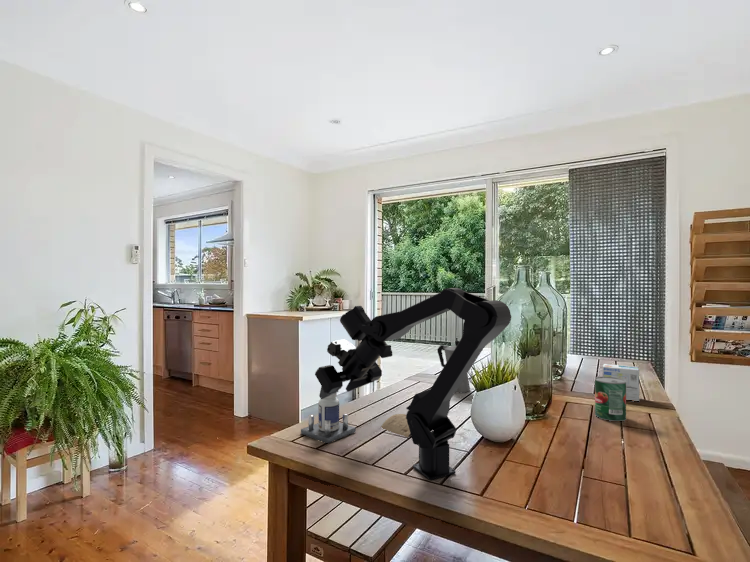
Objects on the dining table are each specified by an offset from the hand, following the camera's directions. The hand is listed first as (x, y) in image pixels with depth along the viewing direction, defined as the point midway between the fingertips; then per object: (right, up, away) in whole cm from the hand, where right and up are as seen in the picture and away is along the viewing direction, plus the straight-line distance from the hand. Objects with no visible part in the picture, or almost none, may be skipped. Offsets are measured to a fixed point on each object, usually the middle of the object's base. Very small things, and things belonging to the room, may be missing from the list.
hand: (334, 393), depth 103 cm
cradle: (-2, -11, +1) cm, 11 cm away
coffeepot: (+40, -11, +45) cm, 61 cm away
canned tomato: (+79, -11, +13) cm, 81 cm away
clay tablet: (+19, -11, +7) cm, 23 cm away
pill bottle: (-2, -10, +1) cm, 10 cm away
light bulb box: (+94, -11, +34) cm, 101 cm away
